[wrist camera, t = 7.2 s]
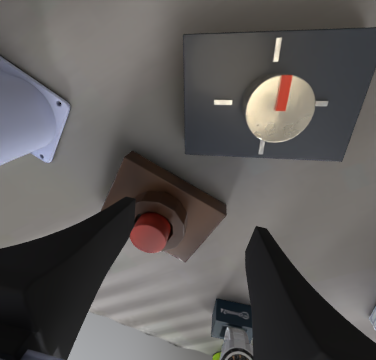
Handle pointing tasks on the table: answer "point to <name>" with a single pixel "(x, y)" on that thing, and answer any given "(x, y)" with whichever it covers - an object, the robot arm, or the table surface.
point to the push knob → (150, 232)
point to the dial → (278, 106)
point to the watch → (233, 329)
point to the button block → (167, 203)
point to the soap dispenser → (217, 356)
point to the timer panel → (283, 64)
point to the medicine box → (373, 318)
